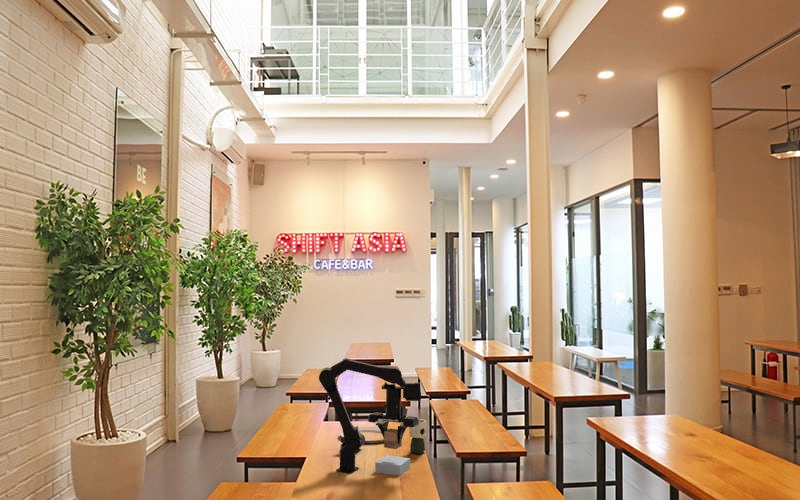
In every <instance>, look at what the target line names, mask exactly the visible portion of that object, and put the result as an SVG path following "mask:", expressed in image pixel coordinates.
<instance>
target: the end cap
mask: <svg viewBox="0 0 800 500" xmlns="http://www.w3.org/2000/svg"><path fill="white" fill-rule="evenodd" d="M360 434H361V435H362V440H361V446H360V448H362V447H363V446H364V445H365V444H366V443H365V440H366V436H365V435H364V434H363V432H360ZM343 442H344V437H342V436H341V438H340V443H341V444H342V443H343Z"/></svg>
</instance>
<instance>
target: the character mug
mask: <svg viewBox="0 0 800 500" xmlns="http://www.w3.org/2000/svg"><path fill="white" fill-rule="evenodd" d="M418 420H419V424H418V425H416V426H414V427H408V430H409V431H408V435H409V437H410V438H411V441H410V446H409V447H410V449H409V451H410V452H411V453H415V454H424V453H425V452H426V447H425V440H424V439H425V438H426V437H427V420H425V419H419V418H418Z"/></svg>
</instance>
